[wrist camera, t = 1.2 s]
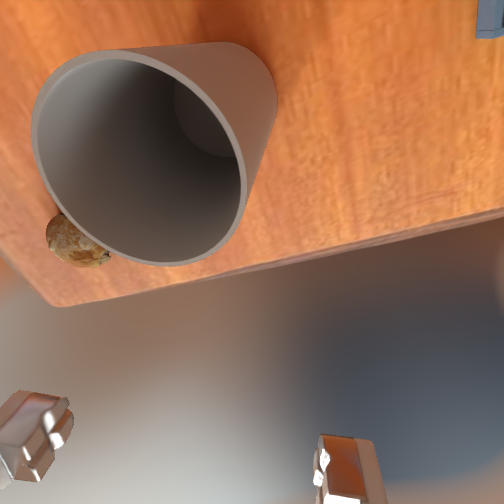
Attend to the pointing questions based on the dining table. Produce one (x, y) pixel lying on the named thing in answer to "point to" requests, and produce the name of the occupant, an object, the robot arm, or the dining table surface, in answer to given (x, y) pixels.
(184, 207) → the cylinder vase
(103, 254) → the bread roll
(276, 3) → the dining table surface
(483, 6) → the tub
